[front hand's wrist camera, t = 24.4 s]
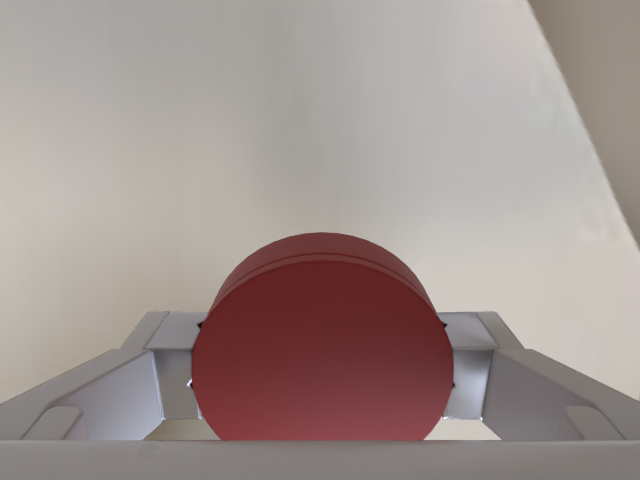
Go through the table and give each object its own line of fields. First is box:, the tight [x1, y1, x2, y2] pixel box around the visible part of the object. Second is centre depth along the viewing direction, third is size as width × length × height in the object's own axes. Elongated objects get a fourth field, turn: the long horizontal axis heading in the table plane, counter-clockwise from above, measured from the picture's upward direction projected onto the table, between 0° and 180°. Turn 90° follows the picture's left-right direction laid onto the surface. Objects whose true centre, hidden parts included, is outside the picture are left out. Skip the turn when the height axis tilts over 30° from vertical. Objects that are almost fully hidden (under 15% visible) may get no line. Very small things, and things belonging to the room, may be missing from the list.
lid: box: [191, 232, 454, 440], centre depth 9 cm, size 5×5×2 cm
